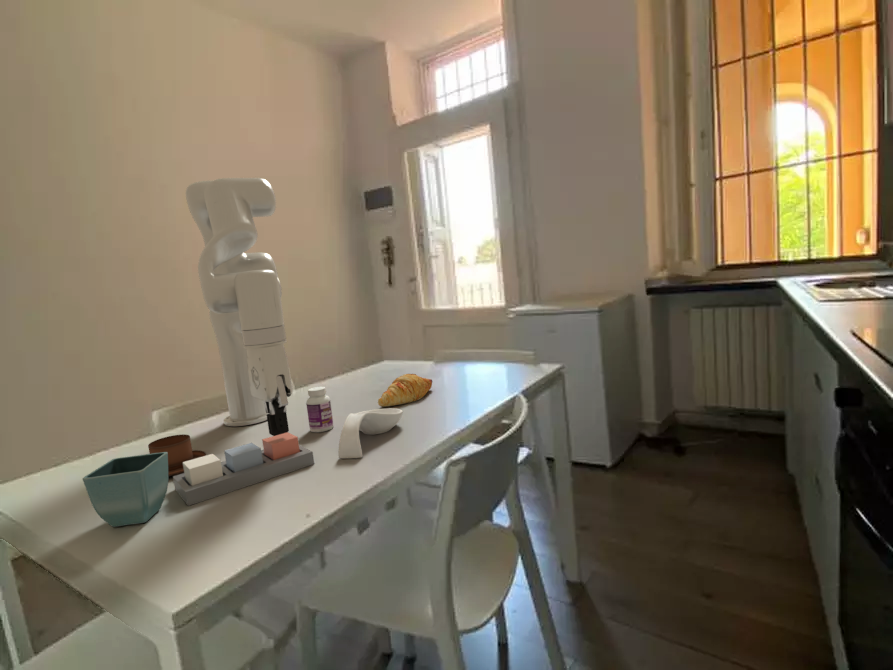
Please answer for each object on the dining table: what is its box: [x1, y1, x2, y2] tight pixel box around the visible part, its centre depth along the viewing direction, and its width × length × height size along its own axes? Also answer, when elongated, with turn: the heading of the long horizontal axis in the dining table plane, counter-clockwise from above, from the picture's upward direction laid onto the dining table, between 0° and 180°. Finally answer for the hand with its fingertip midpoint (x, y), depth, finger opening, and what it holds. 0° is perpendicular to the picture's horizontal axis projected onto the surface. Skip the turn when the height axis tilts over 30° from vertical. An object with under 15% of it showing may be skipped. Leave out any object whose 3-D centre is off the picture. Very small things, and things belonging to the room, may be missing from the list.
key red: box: [261, 431, 300, 460], centre depth 100 cm, size 5×5×3 cm
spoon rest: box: [337, 407, 404, 459], centre depth 110 cm, size 24×12×7 cm, turn 171°
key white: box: [183, 453, 223, 486], centre depth 91 cm, size 5×5×3 cm
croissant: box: [377, 373, 433, 407], centre depth 141 cm, size 21×10×8 cm, turn 144°
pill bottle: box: [305, 386, 334, 433], centre depth 120 cm, size 5×5×10 cm
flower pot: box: [82, 452, 169, 528], centre depth 82 cm, size 9×9×9 cm
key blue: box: [223, 442, 263, 472], centre depth 95 cm, size 5×5×3 cm
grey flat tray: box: [172, 444, 315, 507], centre depth 96 cm, size 10×22×2 cm, turn 129°
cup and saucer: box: [148, 434, 207, 477], centre depth 103 cm, size 12×12×6 cm
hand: (279, 433), depth 99 cm, fingers closed
